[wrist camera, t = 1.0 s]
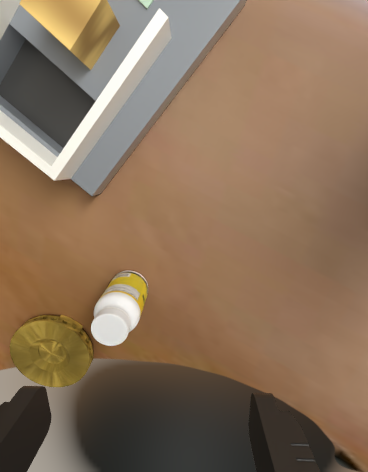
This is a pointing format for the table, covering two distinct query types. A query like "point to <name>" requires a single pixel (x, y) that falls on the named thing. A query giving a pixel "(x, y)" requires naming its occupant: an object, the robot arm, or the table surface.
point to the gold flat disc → (52, 350)
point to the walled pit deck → (99, 83)
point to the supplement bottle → (119, 308)
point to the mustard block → (77, 24)
